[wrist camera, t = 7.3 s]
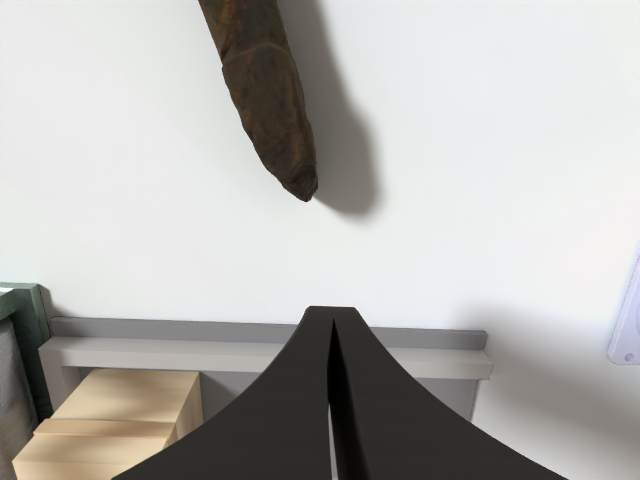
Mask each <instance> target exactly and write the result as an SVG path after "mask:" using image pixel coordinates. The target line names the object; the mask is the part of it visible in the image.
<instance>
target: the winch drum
mask: <svg viewBox="0 0 640 480" xmlns="http://www.w3.org/2000/svg"><path fill="white" fill-rule="evenodd" d="M49 339H51V337H50V333H49V329H48V324H47V320H46V316H45V312H44V307H43V303H42V299H41V295H40V291H39V286H38V284H26V283H0V480H18V479H17V476H16V473H15V469H14V466H13V463H12V461H13V459H14V458H15V457H16V456H17V455H18V454H19V453H20V451H21V450H22V449H23V448H24V447H25V446H26V445H27V444H28V442H29V441H30V440H31V439H32V438H33V437H34V433H33V432H34V431H35V430H36V429H37V428H38V426H39V425H40V424H41V423H42V422H43V421H44V420H45V419H50V418H51V416H52V415H53V414H54V411H53V407H52V403H51V399H50V395H49V391H48V387H47V383H46V379H45V375H44V371H43V368H42V364H41V360H40V356H39V352H38V349H39V348H40V347H41V346H42V345H43V344H45V343H46V342H47V341H48V340H49Z"/></svg>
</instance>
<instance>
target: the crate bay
mask: <svg viewBox="0 0 640 480" xmlns="http://www.w3.org/2000/svg"><path fill="white" fill-rule="evenodd" d="M50 324H51V328H52V333H53V337H52V338H51V339H49V340H48V341H47V342H46V343H45V344H43V345H42V346H41V347H40V348H39V349H38V352H39V356H40V360H41V364H42V368H43V371H44V375H45V379H46V383H47V387H48V391H49V395H50V399H51V403H52V407H53V411H54V413H55V412H56V411H57V410H58V408H59V407H60V406H61V405H62V404H63V403H64V402H65V401H66V399H67V398H68V397H69V396H70V395H71V394H72V393H73V391H74V390H75V389H76V388H77V387H78V386H79V385H80V384H81V382H82V381H83V380H84V379H85V378H86V377H87V376H88V374H89V373H90V372H91V371H92V370H93V369H94V368H97V369H127V370H158V371H188V372H199V379H200V390H201V401H202V413H203V423H205V422H206V421H208V420H209V419H210V418H212V417H213V416H214V415H216V414H217V413H218V412H219V411H221V410H222V409H223V408H224V407H226V406H227V405H228V404H229V403H230V402H231V401H233V400H234V399H235V398H236V397H237V396H238V395H239V394H241V393H242V392H243V391H244V390H245V389H246V388H247V387H248V386H249V385H250V384H251V383H252V382H253V381H254V380H255V379H256V378H257V377H258V376H259V375H260V374H261V373H262V372H263V371H264V370H265V369H266V368H267V367H268V365H269V364H270V363H271V362H272V361H273V359H274V358H275V357H276V356H277V354H278V353H279V352H280V351H281V350H282V348H283V347H284V346H285V344H286V343H287V341H288V340H289V338H290V337H291V336H292V334H293V333H294V331H295V330H296V328H297V326H298V325H289V324H259V323H229V322H199V321H169V320H140V319H110V318H80V317H53V318H52V319H51V320H50ZM369 328H370V329H371V331H372V332H373V333H374V334H375V336H376V337H377V338H378V340H379V341H380V342H381V343H382V344H383V346H384V347H385V348H386V349H387V350H388V352H389V353H390V354H391V355H392V356H393V357H394V358H395V359H396V361H397V362H398V363H399V364H400V365H401V366H402V367H403V368H404V369H405V370H406V371H407V372H408V373H409V374H410V375H411V376H412V377H413V378H414V379H415V380H417V381H418V382H419V383H420V384H421V385H422V386H423V387H425V388H426V389H427V390H428V391H429V392H430V393H432V394H433V395H434V396H435V397H436V398H438V399H439V400H440V401H441V402H443V403H444V404H445V405H447V406H448V407H449V408H451V409H452V410H453V411H455V412H456V413H458V414H459V415H460V416H462V417H463V418H465V419H466V420H467V421H469V419H470V415H471V410H472V405H473V400H474V395H475V391H476V386H477V381H478V379H480V380H490V376H491V371H492V367H493V363H492V362H491V360H490V359H489V357H488V356H487V354H486V353H485V351H484V348H485V343H486V338H487V334H486V333H485V331H469V330H439V329H409V328H379V327H369ZM328 420H329V438H330V456H331V470H332V480H338V476H337V468H336V459H335V450H334V441H333V433H332V424H331V415H330V405H329V411H328Z"/></svg>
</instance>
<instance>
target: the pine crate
mask: <svg viewBox="0 0 640 480" xmlns="http://www.w3.org/2000/svg"><path fill="white" fill-rule="evenodd" d="M202 424H203V413H202V401H201V390H200V379H199V372H188V371H158V370H127V369H97V368H94V369H93V370H92V371H91V372H90V373H89V374H88V376H87V377H86V378H85V379H84V380H83V381H82V382H81V384H80V385H79V386H78V387H77V388H76V389H75V390H74V391H73V393H72V394H71V395H70V396H69V397H68V398H67V399H66V401H65V402H64V403H63V404H62V405H61V406H60V407H59V408H58V410H57V411H56V412H55V413H54V414H53V415H52V416H51V418H50V419H45V420H44V421H43V422H42V423H41V424H40V425H39V426H38V428H37V429H36V430H35V431H34V432H33V433H34V437H33V438H32V439H31V440H30V441H29V442H28V444H27V445H26V446H25V447H24V448H23V449H22V450H21V451H20V453H19V454H18V455H17V456H16V457H15V458H14V459H13V461H12V463H13V466H14V469H15V473H16V476H17V479H18V480H111V479H112V478H113V477H114V476H116V475H118V474H120V473H122V472H124V471H126V470H128V469H129V468H131V467H133V466H135V465H137V464H138V463H140V462H142V461H144V460H145V459H147V458H149V457H151V456H153V455H154V454H156V453H158V452H160V451H161V450H163V449H165V448H167V447H168V446H170V445H172V444H173V443H175V442H176V441H178V440H180V439H181V438H183V437H184V436H186V435H187V434H189V433H190V432H192V431H193V430H195V429H196V428H198V427H199V426H200V425H202Z"/></svg>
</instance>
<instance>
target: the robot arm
mask: <svg viewBox="0 0 640 480" xmlns="http://www.w3.org/2000/svg"><path fill="white" fill-rule="evenodd" d="M627 354H628V355H627ZM626 355H627V356H626ZM607 358H608V359H609V360H610V361H611V362H613V363H614V364H628V365H640V256H639V259H638V262H637V265H636V268H635V271H634V274H633V277H632V280H631V283H630V286H629V289H628V292H627V295H626V298H625V301H624V304H623V307H622V310H621V313H620V316H619V319H618V322H617V325H616V328H615V331H614V334H613V337H612V340H611V343H610V346H609V349H608V352H607ZM329 405H330V415H331V424H332V433H333V441H334V450H335V459H336V468H337V476H338V480H568V479H566V478H564V477H562V476H561V475H559V474H557V473H555V472H553V471H551V470H549V469H547V468H545V467H543V466H541V465H539V464H538V463H536V462H534V461H532V460H530V459H528V458H526V457H525V456H523V455H521V454H519V453H518V452H516V451H514V450H513V449H511V448H510V447H508V446H506V445H505V444H503V443H501V442H500V441H498V440H496V439H495V438H493V437H491V436H490V435H488V434H487V433H485V432H484V431H482V430H481V429H479V428H478V427H476V426H474V425H473V424H472V423H470V422H469V421H467V420H466V419H465V418H463V417H462V416H460V415H459V414H458V413H456V412H455V411H453V410H452V409H451V408H449V407H448V406H447V405H445V404H444V403H443V402H441V401H440V400H439V399H438V398H436V397H435V396H434V395H433V394H432V393H430V392H429V391H428V390H427V389H426V388H425V387H423V386H422V385H421V384H420V383H419V382H418V381H417V380H415V379H414V378H413V377H412V376H411V375H410V374H409V373H408V372H407V371H406V370H405V369H404V368H403V367H402V366H401V365H400V364H399V363H398V362H397V361H396V359H395V358H394V357H393V356H392V355H391V354H390V353H389V352H388V350H387V349H386V348H385V347H384V346H383V344H382V343H381V342H380V341H379V340H378V338H377V337H376V336H375V334H374V333H373V332H372V331H371V329H370V328H369V326H368V325H367V324H366V322H365V321H364V319H363V318H362V316H361V315H360V313H359V312H358V311H357V310H356V308H355V307H329V306H309V307H308V308H307V309H306V310H305V313H304V315H303V317H302V319H301V321H300V323H299V325H298V326H297V328H296V330H295V331H294V333H293V334H292V336H291V337H290V338H289V340H288V341H287V343H286V344H285V346H284V347H283V348H282V350H281V351H280V352H279V353H278V354H277V356H276V357H275V358H274V359H273V361H272V362H271V363H270V364H269V365H268V367H267V368H266V369H265V370H264V371H263V372H262V373H261V374H260V375H259V376H258V377H257V378H256V379H255V380H254V381H253V382H252V383H251V384H250V385H249V386H248V387H247V388H246V389H245V390H244V391H243V392H242V393H241V394H239V395H238V396H237V397H236V398H235V399H234V400H233V401H231V402H230V403H229V404H228V405H227V406H226V407H224V408H223V409H222V410H221V411H219V412H218V413H217V414H216V415H214V416H213V417H212V418H210V419H209V420H208V421H206V422H205V423H203V424H202V425H200V426H199V427H198V428H196V429H195V430H193V431H192V432H190V433H189V434H187V435H186V436H184V437H183V438H181V439H180V440H178V441H176V442H175V443H173V444H172V445H170V446H168V447H167V448H165V449H163V450H161V451H160V452H158V453H156V454H154V455H153V456H151V457H149V458H147V459H145V460H144V461H142V462H140V463H138V464H137V465H135V466H133V467H131V468H129V469H128V470H126V471H124V472H122V473H120V474H118V475H116V476H114V477H113V478H112V479H111V480H332V470H331V456H330V438H329V420H328V411H329Z"/></svg>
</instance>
